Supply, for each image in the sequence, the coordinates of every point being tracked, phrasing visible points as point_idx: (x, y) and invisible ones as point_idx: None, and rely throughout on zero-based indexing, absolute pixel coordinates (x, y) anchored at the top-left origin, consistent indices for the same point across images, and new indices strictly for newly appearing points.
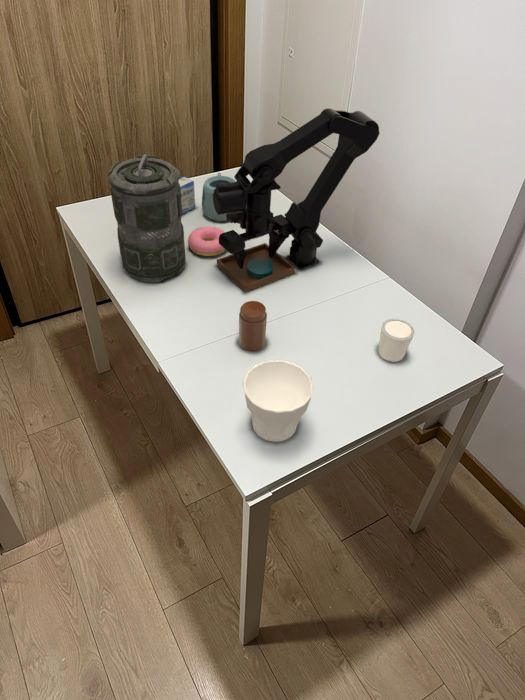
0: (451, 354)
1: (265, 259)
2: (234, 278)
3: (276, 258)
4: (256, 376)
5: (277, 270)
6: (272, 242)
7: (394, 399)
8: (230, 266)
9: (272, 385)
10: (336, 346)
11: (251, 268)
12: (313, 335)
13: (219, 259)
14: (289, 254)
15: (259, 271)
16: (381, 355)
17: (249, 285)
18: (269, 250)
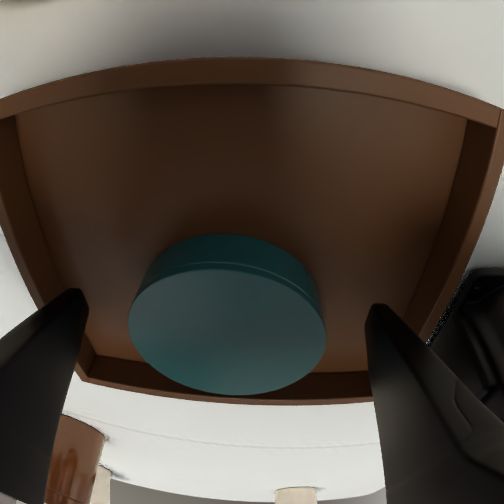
0: (353, 492)
1: (317, 319)
2: None
3: (427, 268)
4: None
5: (331, 343)
6: (414, 448)
7: (234, 498)
8: (64, 162)
9: None
10: (231, 478)
11: (152, 336)
12: (210, 467)
13: None
14: (466, 345)
15: (188, 373)
16: (276, 493)
17: (103, 383)
18: (388, 353)
